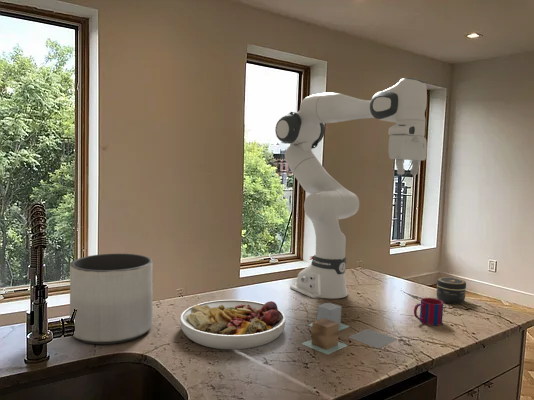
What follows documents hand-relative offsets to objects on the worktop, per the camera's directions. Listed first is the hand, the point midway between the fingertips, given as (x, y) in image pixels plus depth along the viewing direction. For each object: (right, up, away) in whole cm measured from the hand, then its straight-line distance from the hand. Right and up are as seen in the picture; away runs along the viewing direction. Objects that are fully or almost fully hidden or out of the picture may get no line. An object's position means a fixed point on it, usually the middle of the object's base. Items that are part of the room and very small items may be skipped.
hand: (407, 174), depth 143 cm
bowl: (-54, -47, -13) cm, 73 cm away
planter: (-88, -45, -15) cm, 101 cm away
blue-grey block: (-26, -46, -8) cm, 53 cm away
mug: (+6, -47, 0) cm, 47 cm away
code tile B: (-26, -46, -8) cm, 54 cm away
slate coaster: (-15, -48, -16) cm, 52 cm away
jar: (+23, -46, +23) cm, 56 cm away
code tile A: (-29, -48, -22) cm, 60 cm away
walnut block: (-29, -47, -22) cm, 59 cm away
